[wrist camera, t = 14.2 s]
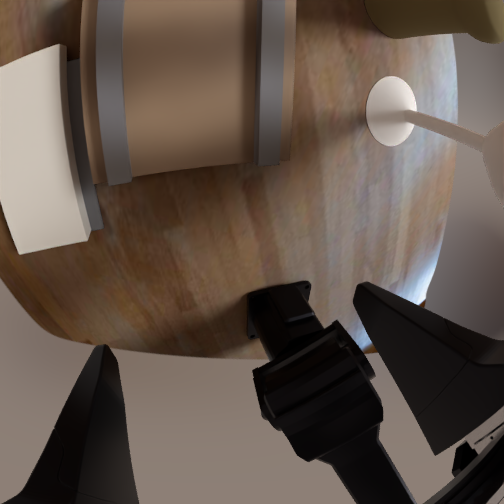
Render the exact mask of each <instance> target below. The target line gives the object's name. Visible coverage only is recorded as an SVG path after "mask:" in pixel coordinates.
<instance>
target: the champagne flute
mask: <svg viewBox="0 0 504 504" xmlns="http://www.w3.org/2000/svg"><path fill="white" fill-rule="evenodd" d="M366 118H367V123H368V127H369V129H370V132H371V133H372V135H373V137H374V138H375V139H376V140H377V141H378V142H380V143H381V144H383V145H386V146H395V145H398V144H400V143H402V142H403V141H404V140H405V139H406V138H407V137H408V136H409V135H410V133H411V131H412V129H413V127H414V125H417V126H420V127H423V128H426V129H428V130H431V131H434V132H436V133H439V134H442V135H444V136H447V137H449V138H451V139H454V140H456V141H459V142H461V143H464V144H465V145H468V146H470V147H472V148H474V149H476V150H479V151H481V152H483V159H484V163H485V166H486V169H487V172H488V175H489V178H490V182H491V185H492V187H493V189H494V192H495V194H496V196H497V198H498V200H499V201H500V203H501V205H502V206H503V208H504V121H503V122H501V123H500V124H499V125H497V126H496V127H495V128H493V129H492V130H491V131H490V132H489V133H488V134H487V136H486V137H485V136H483V135H481V134H478V133H476V132H473V131H471V130H469V129H466V128H463V127H461V126H458V125H456V124H453V123H450V122H447V121H445V120H442V119H439V118H436V117H433V116H429V115H426V114H423V113H420V112H416V101H415V97H414V94H413V92H412V90H411V88H410V87H409V86H408V84H407V83H406V82H405V81H403V80H402V79H400V78H398V77H394V76H388V77H384V78H382V79H381V80H379V81H378V82H377V83H376V84H375V85H374V86H373V88H372V89H371V91H370V94H369V96H368V100H367V105H366Z"/></svg>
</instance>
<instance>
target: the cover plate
mask: <svg viewBox="0 0 504 504" xmlns="http://www.w3.org/2000/svg"><path fill="white" fill-rule="evenodd" d="M0 202H1V205H2V208H3V211H4V215H5V218H6V221H7V224H8V227H9V229H10V232H11V235H12V238H13V240H14V243H15V245H16V248H17V250H18V253H19V255H21V254H25V253H30V252H34V251H39V250H44V249H48V248H53V247H58V246H63V245H68V244H73V243H78V242H83V241H88V238H89V235H90V232H91V227H90V223H89V219H88V216H87V212H86V208H85V203H84V199H83V195H82V190H81V185H80V180H79V175H78V170H77V165H76V159H75V153H74V146H73V139H72V132H71V124H70V114H69V103H68V88H67V46H64V45H62V44H57V45H54V46H51V47H48V48H45V49H43V50H40V51H37V52H35V53H32V54H30V55H27V56H25V57H22V58H20V59H18V60H15V61H13V62H11V63H9V64H7V65H5V66H2V67H0Z"/></svg>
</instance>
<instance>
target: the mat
mask: <svg viewBox="0 0 504 504" xmlns="http://www.w3.org/2000/svg"><path fill="white" fill-rule="evenodd" d="M67 88H68V103H69V114H70V124H71V132H72V139H73V146H74V153H75V159H76V165H77V170H78V175H79V180H80V185H81V190H82V195H83V199H84V203H85V208H86V212H87V216H88V219H89V223H90V227H91V231H94V230H100V229H104V224H103V220H102V216H101V211H100V207H99V203H98V198H97V193H96V188H95V184H93V179H92V174H91V168H90V162H89V156H88V149H87V142H86V135H85V127H84V118H83V107H82V94H81V74H80V58H79V59H75V60H72V61H68V62H67Z"/></svg>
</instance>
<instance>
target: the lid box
mask: <svg viewBox="0 0 504 504" xmlns="http://www.w3.org/2000/svg"><path fill="white" fill-rule="evenodd" d="M295 39H296V0H83V3H82V15H81V34H80V74H81V94H82V107H83V118H84V127H85V135H86V142H87V149H88V156H89V162H90V168H91V174H92V179H93V184H99V183H104V182H108V185H109V186H112V185H117V184H123V183H128V182H131V181H132V177H136V176H142V175H148V174H154V173H161V172H168V171H175V170H182V169H190V168H198V167H207V166H217V165H227V164H238V163H251V162H254V163H255V164H256V165H257V166H271V165H279V162H280V161H285V160H290V148H291V132H292V114H293V94H294V70H295Z"/></svg>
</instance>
